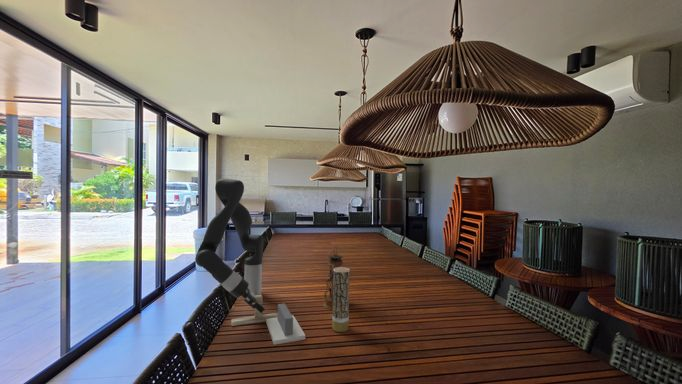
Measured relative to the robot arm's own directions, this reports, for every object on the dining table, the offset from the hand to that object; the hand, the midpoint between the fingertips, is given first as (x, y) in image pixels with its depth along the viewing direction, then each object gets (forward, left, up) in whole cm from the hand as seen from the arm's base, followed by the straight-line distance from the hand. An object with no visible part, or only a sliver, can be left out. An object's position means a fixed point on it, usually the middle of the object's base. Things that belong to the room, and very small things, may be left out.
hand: (261, 307), depth 124 cm
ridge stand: (+13, +7, -5) cm, 16 cm away
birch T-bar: (0, -2, -6) cm, 6 cm away
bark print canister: (+20, +29, -6) cm, 36 cm away
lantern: (-5, +37, -6) cm, 38 cm away
